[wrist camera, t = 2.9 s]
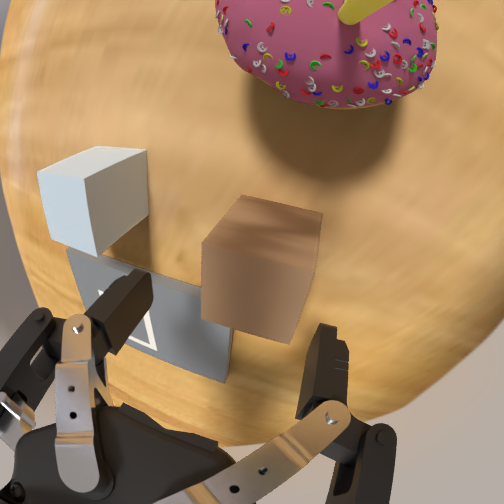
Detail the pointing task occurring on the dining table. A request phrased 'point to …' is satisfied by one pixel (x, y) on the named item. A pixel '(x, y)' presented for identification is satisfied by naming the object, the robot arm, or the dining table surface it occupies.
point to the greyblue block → (95, 196)
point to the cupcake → (333, 47)
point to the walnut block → (259, 267)
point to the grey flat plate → (161, 317)
